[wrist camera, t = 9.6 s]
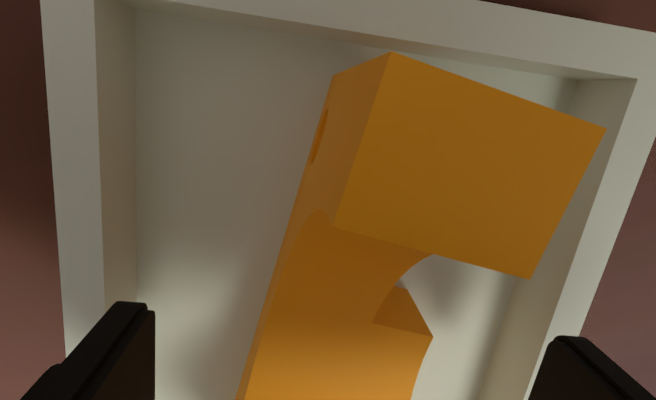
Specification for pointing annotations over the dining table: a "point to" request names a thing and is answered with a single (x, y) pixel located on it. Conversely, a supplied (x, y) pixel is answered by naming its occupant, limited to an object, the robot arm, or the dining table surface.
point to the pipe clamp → (404, 221)
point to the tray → (289, 163)
